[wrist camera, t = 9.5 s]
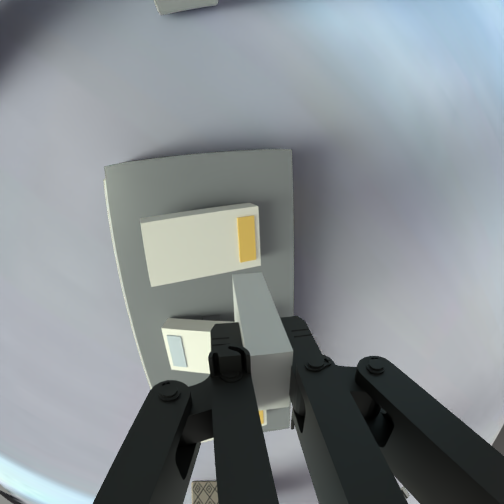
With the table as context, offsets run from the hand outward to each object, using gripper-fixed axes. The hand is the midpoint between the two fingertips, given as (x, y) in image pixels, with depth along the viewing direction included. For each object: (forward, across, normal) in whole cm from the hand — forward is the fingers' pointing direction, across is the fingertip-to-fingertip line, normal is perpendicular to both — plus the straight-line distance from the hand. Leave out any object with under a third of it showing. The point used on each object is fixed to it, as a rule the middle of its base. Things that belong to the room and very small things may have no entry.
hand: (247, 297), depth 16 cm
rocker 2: (+7, -2, -8) cm, 11 cm away
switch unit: (+15, -2, -8) cm, 17 cm away
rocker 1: (+7, -2, +1) cm, 7 cm away
